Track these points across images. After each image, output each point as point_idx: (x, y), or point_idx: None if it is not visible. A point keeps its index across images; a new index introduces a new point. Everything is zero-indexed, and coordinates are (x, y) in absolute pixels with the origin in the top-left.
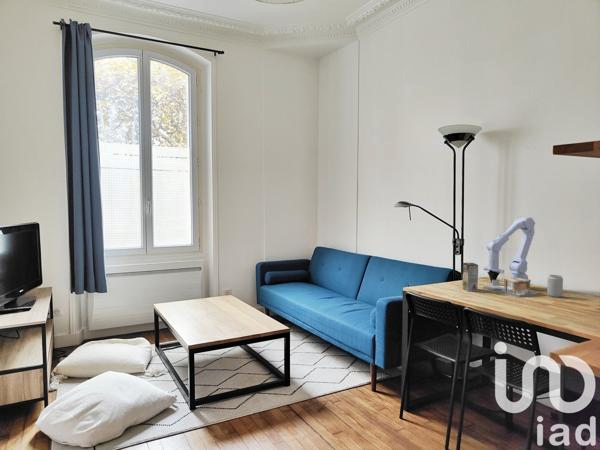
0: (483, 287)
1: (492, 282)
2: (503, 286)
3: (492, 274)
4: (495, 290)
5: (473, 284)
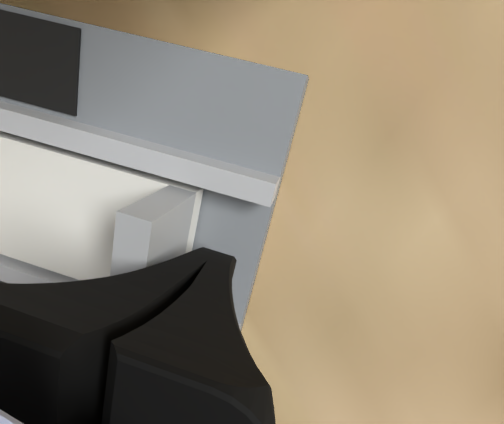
0: (291, 73)
1: (159, 202)
2: (48, 236)
3: (36, 295)
4: (44, 14)
5: None
